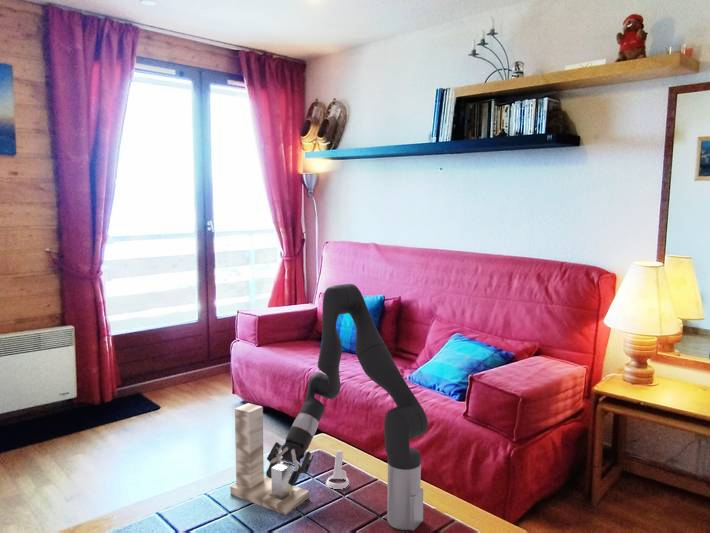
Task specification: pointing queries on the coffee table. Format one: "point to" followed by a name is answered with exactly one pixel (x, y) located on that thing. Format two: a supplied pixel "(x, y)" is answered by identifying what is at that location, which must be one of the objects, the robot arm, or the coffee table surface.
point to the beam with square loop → (257, 464)
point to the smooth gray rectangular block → (281, 480)
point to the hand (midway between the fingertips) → (279, 480)
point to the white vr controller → (338, 473)
